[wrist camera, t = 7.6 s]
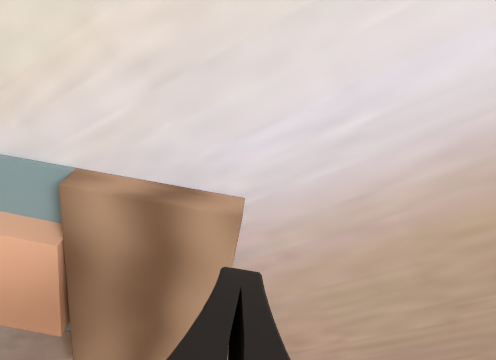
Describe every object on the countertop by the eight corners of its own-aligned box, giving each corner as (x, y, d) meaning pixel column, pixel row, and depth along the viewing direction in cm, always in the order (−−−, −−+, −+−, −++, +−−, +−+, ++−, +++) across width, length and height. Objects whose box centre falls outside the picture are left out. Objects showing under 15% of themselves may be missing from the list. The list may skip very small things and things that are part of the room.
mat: (-28, 310, 28) (-32, 314, 28) (-72, 141, 22) (-78, 144, 21) (84, 329, 28) (82, 333, 28) (76, 168, 22) (72, 171, 21)
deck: (85, 346, 29) (74, 369, 28) (76, 168, 22) (58, 184, 20) (211, 366, 30) (207, 390, 28) (244, 198, 22) (242, 217, 20)
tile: (-9, 297, 27) (-29, 320, 25) (-25, 206, 23) (-49, 225, 21) (74, 313, 27) (61, 336, 25) (73, 225, 23) (57, 246, 22)
